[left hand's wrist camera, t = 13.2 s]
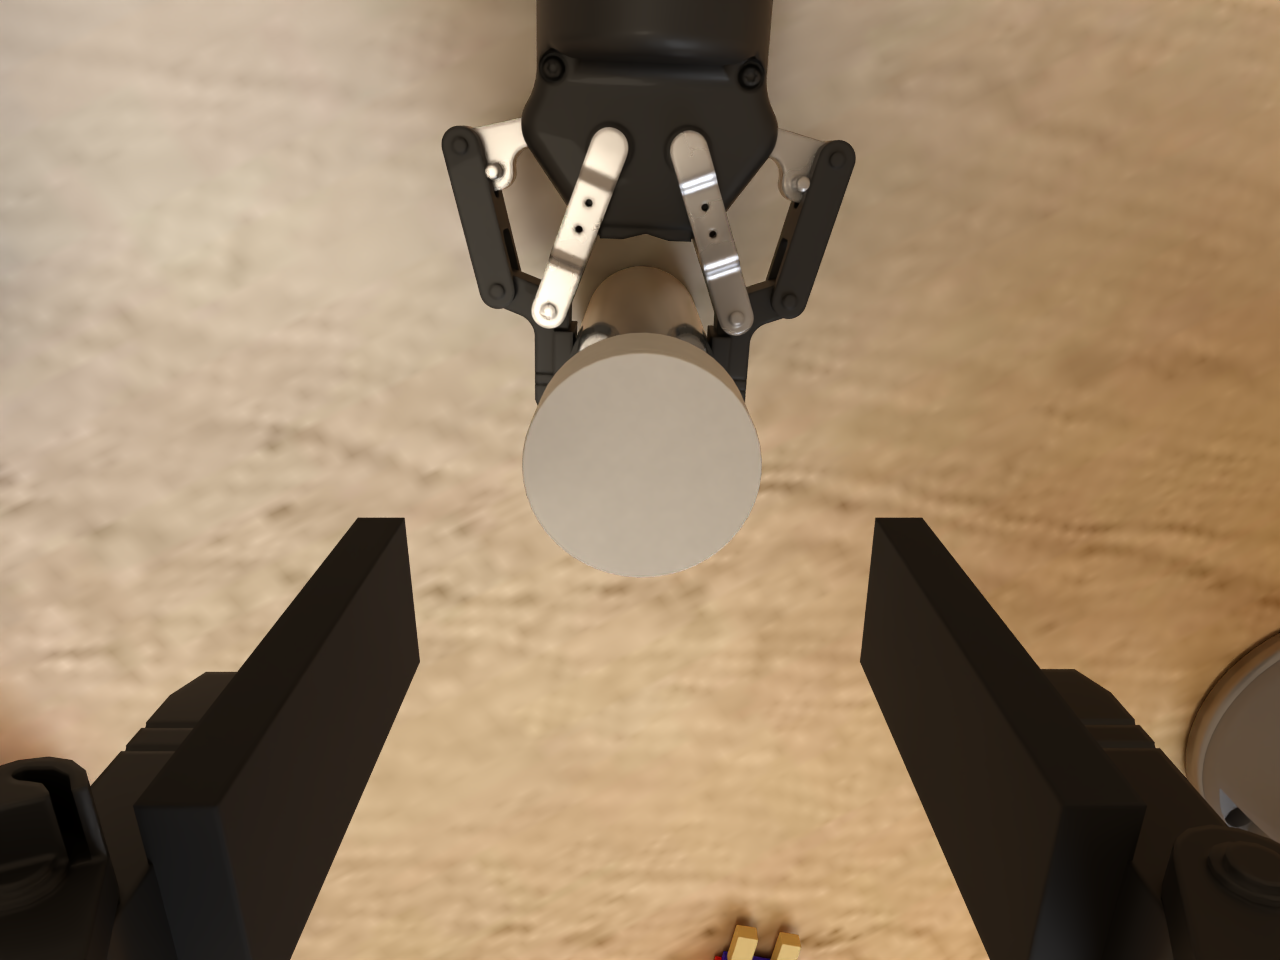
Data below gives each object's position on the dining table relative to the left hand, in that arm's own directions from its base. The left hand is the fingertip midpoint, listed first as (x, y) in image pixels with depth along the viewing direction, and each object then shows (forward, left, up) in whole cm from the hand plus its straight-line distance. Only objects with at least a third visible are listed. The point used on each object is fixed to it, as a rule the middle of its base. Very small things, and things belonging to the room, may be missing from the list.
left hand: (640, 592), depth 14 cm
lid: (0, 0, -6) cm, 6 cm away
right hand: (-1, +3, -18) cm, 18 cm away
